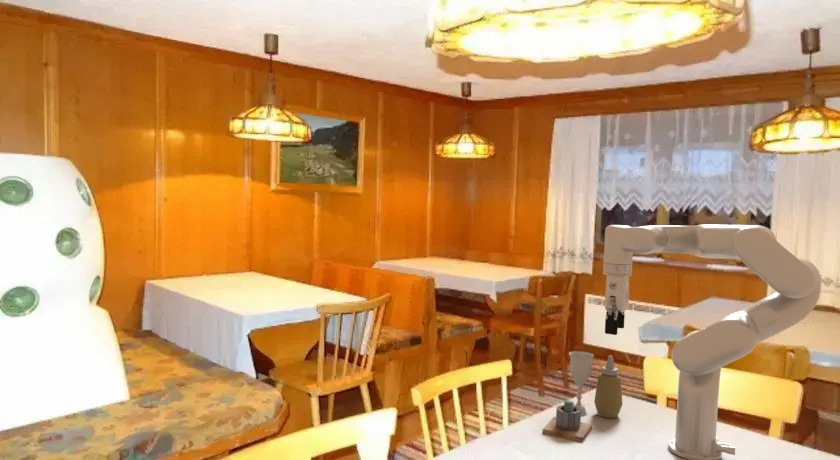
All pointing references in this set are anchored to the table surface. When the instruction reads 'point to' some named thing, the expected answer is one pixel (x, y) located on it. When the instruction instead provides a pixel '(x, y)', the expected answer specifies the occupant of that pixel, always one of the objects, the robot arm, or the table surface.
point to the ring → (568, 419)
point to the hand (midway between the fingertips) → (614, 330)
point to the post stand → (573, 435)
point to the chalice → (580, 373)
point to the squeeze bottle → (608, 391)
